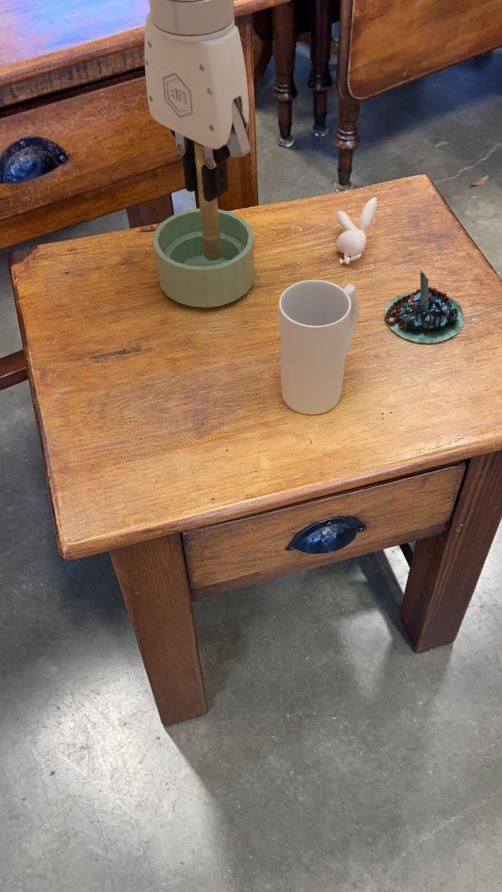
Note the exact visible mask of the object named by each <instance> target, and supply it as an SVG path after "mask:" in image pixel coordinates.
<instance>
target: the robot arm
mask: <svg viewBox="0 0 502 892" xmlns="http://www.w3.org/2000/svg"><path fill="white" fill-rule="evenodd" d="M234 3H235V1H234V0H148V5H149V13H148V14H147V15H146V17H145V18H146V19H145V28H144V70H145V71H144V72H145V73H144V74H145V86H146V87H145V88H146V94H147V95H146V96H147V103H148V109H149V113H150V115H151V117H152V119H153V120H155V121H156V122H157V123H158V124H160V125H161V126H164V127H166V128H167V129H169V131H170V133H171V134H172V136H173V137H174V138H175V146H176V150H177V152H178V154H180V155H181V159H182V169H183V176H184V177H183V178H184V179H183V180H184V187H185V190H186V191H187V192H189V193H193V192H195V191H196V190H198V184H197V173H196V162H195V152H194V141H195V142H197V143H199V144H201V145H203V146H204V158H205V165H203V166H202V168H201V173H202V184H203V195H204V199H205V200H206V201H208V202H211V201H213V200H214V199H216V198H217V199H218V198H219V197H221V196H222V195H224V194H225V193H227V192H228V190H229V177H228V176H229V175H228V160H229V159H237V158H243V157H244V156H246V155H248V154H249V153H251V152H252V147H251V144H250V140H249V137H248V135H247V132H248V129H249V124H250V123H249V122H250V103H249V102H250V101H249V89H248V80H247V79H248V77H247V69H246V64H245V63H246V62H245V57H244V52H243V51H244V49H243V45H242V40H241V36H240V35H241V34H240V31H239V27H238V26H237V25H236V24H235V4H234Z"/></svg>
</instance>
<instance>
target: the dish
mask: <svg viewBox="0 0 502 892" xmlns="http://www.w3.org/2000/svg"><path fill="white" fill-rule="evenodd" d="M419 276H420V277H419V278H420V287H419V288H418V289H416V290H415V291H409V292H405V293H401V294H398V295H397V296H395V297H394V298H393V299H391V300H390V301H389V302H388V303H387V305H386V307H385V309H384V316H383V317H384V321H385V322H386V325H387V327H388V328H389V329H390V330H391V331H393V332H394V334H396V335H398V336H400V337H401V338H403V339H405V340H409V341H411V342H415V343H420V344H421V343H422V344H436V343H439V342H444V341H445V340H446V341H447V340H448V339H450V338H452V337H454V336H456V335H458V334H459V333H460V332H461V331H462V329H463V327H464V323H465V317H464V311H463V309H462V306H461V305H460V303H459V302H457V301H456V300H455V299H454V298H452V297H450V296H448V294H447V293H446V292H442V291H441V290H440V291H439V290H438V289H437V287H431V286H429V278H428V277H427V275H426V274H425V273H424V272H423V270H420V273H419Z"/></svg>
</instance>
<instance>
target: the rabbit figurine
mask: <svg viewBox="0 0 502 892" xmlns="http://www.w3.org/2000/svg"><path fill="white" fill-rule="evenodd" d="M377 207H378V199H377V197H376V196H374V197H371V198H370V199H369V200H368V201H367V202H365V205H364V206H363V208H362V210H361V212H360V216H359V220H358V226H359V228H358V227H357V226H356V225H355V224H354V223H353V221H352V220H351V219H350V217H349V214H347V213H346V212H345V211H342V210H338V211H337V212H336V219H337V222H338V224H339V226H340V227H341V229H343V230H344V232H342V233H341V234H340V235H339V236H337V239H336V242H335V247H336V249H337V251H338V252H340V253H342V254H343V258H344V259H342V258H339V266H341V265H343V264H345V265H349V264H350V262H354V261H357V260H360V259H361V257H362V253H363V252H364V250H365V249H366V246H367V235H366V233H365V231H366V230H368V229H369V228H370V227H371V225H372V224H373V220H374V217H375V215H376V211H377Z"/></svg>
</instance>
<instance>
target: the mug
mask: <svg viewBox="0 0 502 892" xmlns="http://www.w3.org/2000/svg"><path fill="white" fill-rule="evenodd" d="M356 290H357V289H356V286H355V285H353V284H351V283H348V284H347V285H346V286H344V287H341V286H340V285H338V284H336V283H334V282H331V281H328V280H322V279H307V280H302V281H298V282H295V283H293V284H292V285H290V286H288V287H287V288H286V289H285V290H284V291H282V293H281V294H280V296H279V300H278V308H279V309H278V311H279V312H278V314H279V315H278V318H279V319H278V327H279V328H278V329H279V330H278V331H279V363H280V365H279V366H280V386H281V387H280V388H281V389H280V390H281V391H280V392H281V396H282V400H283V402H284V403H285V405H286V406H287V407H288V408H289V409H291V410H293V411H294V412H297V413H299V414H302V415H303V414H304V415H311V416H312V415H313V416H314V415H322V414H325V413H327V412H330V411H331V410H332V409H333V408H335V407H336V406H337V405H338V403H339V402H340V399H341V396H342V390H343V389H342V388H343V381H344V376H345V365H346V357H347V353H348V352H349V351H350V349H351V346H352V343H353V340H354V336H355V333H356V329H357V325H358V320H359V316H360V302H359V301H360V300H359V298H358V295H357V292H356Z"/></svg>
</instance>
